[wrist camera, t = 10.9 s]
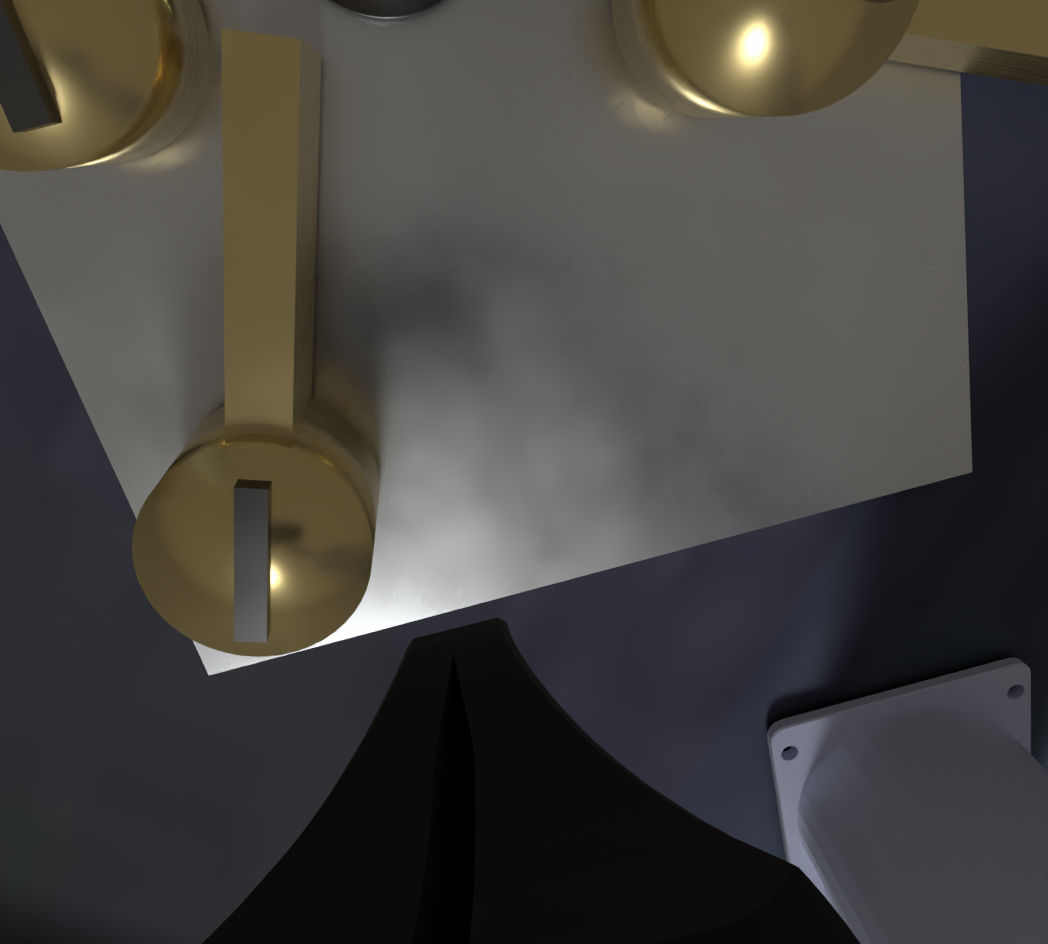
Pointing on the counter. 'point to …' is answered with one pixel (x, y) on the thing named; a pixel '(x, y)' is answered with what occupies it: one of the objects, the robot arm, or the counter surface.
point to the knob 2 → (816, 48)
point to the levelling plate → (506, 278)
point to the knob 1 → (264, 401)
